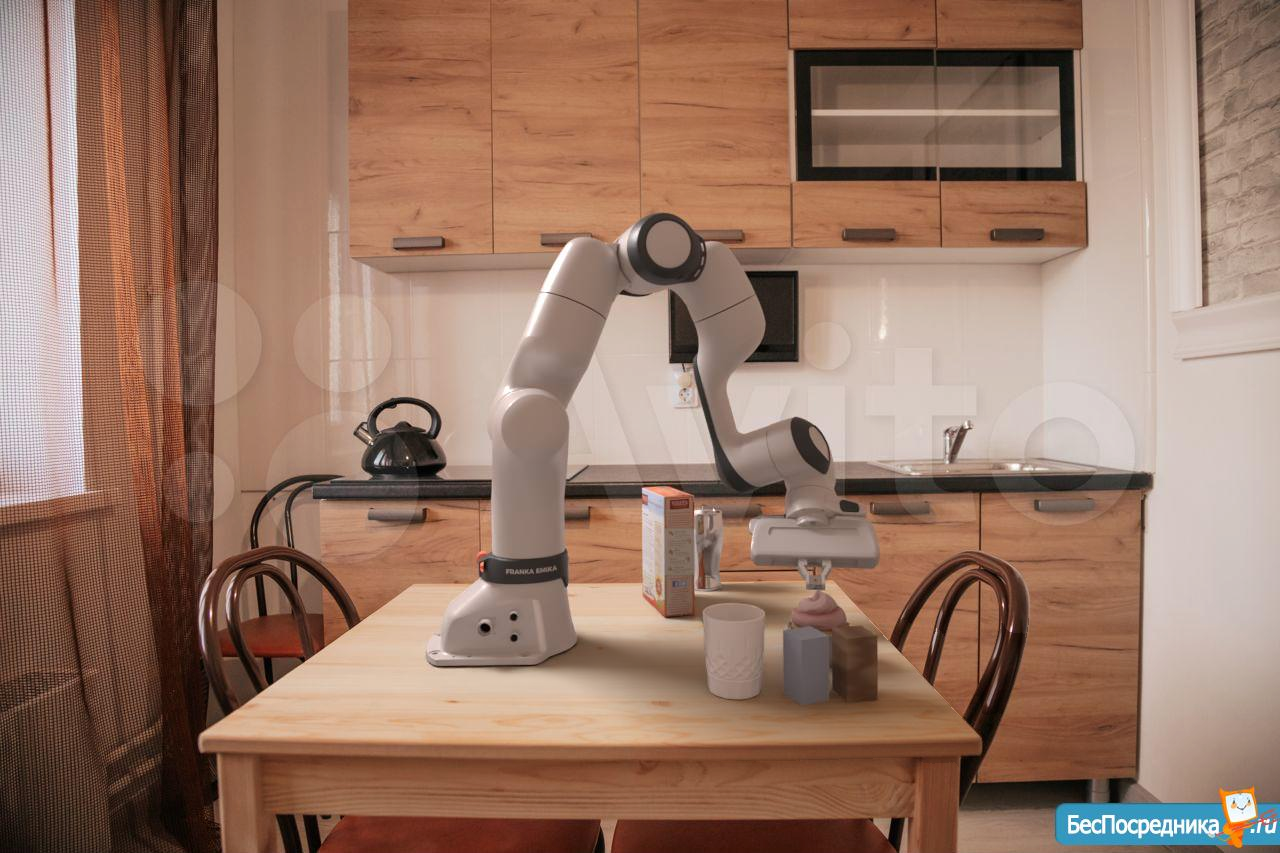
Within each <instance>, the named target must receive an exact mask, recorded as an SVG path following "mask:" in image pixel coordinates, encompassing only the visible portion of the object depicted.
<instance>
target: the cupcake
mask: <svg viewBox="0 0 1280 853" xmlns="http://www.w3.org/2000/svg"><path fill="white" fill-rule="evenodd" d="M846 615H847V614H846V612H845V610H843V608H842V607H841V606H839V605H838V604H837V601H836V600H835V599H834V598H833V597H832V596H831V595H829V594H828V593H825V592H823V590H814V593H813V595H812V596H811V597H806V598H804V599H801V601H800V602H798V605H797V606H796V608H795V609H793V610H792V611H791V614H790V621H788V622H786V623H785V625H786V627H787V629H793V628H800V627H807V626H811V627H813V628H815V629H817V630H819V631H821V632H823V633H825V634H827V635H829V667H832V628H837V627H849V626H850V622H847V616H846Z"/></svg>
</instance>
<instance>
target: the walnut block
mask: <svg viewBox="0 0 1280 853" xmlns="http://www.w3.org/2000/svg"><path fill="white" fill-rule="evenodd" d="M878 637H879V636H878V634H875V633H873V632H872V631H870V630H869V629H867V628H866V627H864V626H863V625H852V626H850V625H849V627H837V628H832V666H831V681H832V682H831V686H832V687H831V689H832V691H833V692H834V693H835V694H836V695H837V696H838V697H839V698H840V699H842V700H843V701H844V702H845V703H846V704H854V703H863V702H864V703H865V702H873V701H874V702H875V701H878V697H879V696H878V691H879V689H878V687H879V686H878V684H879V683H878V677H879V676H878V674H879V673H878V668H879V667H878V665H879V664H878V656H879V654H878V653H879V652H878V647H879V646H878V643H879V642H878V640H879V638H878Z"/></svg>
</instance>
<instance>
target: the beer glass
mask: <svg viewBox="0 0 1280 853" xmlns="http://www.w3.org/2000/svg"><path fill="white" fill-rule="evenodd" d="M723 522H724V521H723V511H722V510H720V509H714V508H713V509H712V508H697V509H694V567H695V568H694V583H695V589H694V590H695V591H699V592H714V591H718V590H720V589H722V581H721V577H720V564H721V558H722V557H721V556H722V550H723V543H724V523H723Z"/></svg>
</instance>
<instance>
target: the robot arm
mask: <svg viewBox="0 0 1280 853" xmlns="http://www.w3.org/2000/svg"><path fill="white" fill-rule="evenodd" d="M668 289H669V290H670V291H672V292H674V293H675V294H676V295H678V297H680V299H681V300H682V301H683V303H684V304H685V305H686V307H687V310H688V312H689V316H690V317H691V320H692V322H693V325H694V327H695V330H696V334H697V337H698V349H697V350H698V351H697V353H696V354H695V356H694V357H693V360H692V368H693V370H692V371H693V376H694V381H695V386H696V389H697V393H698V397H699V401H700V404H701V408H702V412H703V416H704V419H705V423H706V426H707V429H708V434H709V438H710V441H711V445H712V449H713V450H712V451H713V456H714V464H715V468H716V471H717V475H718V478H719V480H720V482H721V483H722V484H723V485H724V486H725V487H727V488H729V489H730V490H731V491H733V492H734V491H735V492H736V493H739V494H741V495H746V494H748V493H752V492H753V491H756V490H758V489H761V488H763V487H765V486H768V485H771V484H775V483H778V482H782V481H783V482H784V485H785V488H786V493H785V497H784V514H782V513H779V514H778V513H775V514H774V513H773V514H766V513H762V514H761V513H759V514H758V516H753V517H752V518H751V519H750V520H749V524H748V528H749V529H748V531H749V534H750V535H751V542H750V561H752V564H754V565H755V566H757V567H759V566H760V567H762V566H764V567H786V568H787V567H793V568H797V571H798V574H799V575H800V576H801V578H802V579H803V580H804V582H805V590H806V591H807V590H808V591H816V590H820V591H826V581H827V580H828V578H829V576H830V575H831V573H832V569H859V570H860V569H861V570H862V569H863V570H864V569H865V570H866V569H868V570H872V569H875V568H876V567H877V566H878V565H879V563H880V559H881V558H880V557H881V549H880V545H879V544H880V543H879V540H878V536H877V532H876V529H875V527H874V524H873V523H872V522H871V521H870V520H869V519H868V512H867V511H868V510H867V506H866V504H864V503H862V502H858V501H853V500H850V499H846V498H843V497H840V496H838V495H837V492H836V491H835V486H836V483H837V482H836V480H837V479H836V470H835V469H836V468H835V463H834V458H833V453H832V451H831V448H830V445H829V443H828V440H827V439H826V437H825V435H824V434H823V432H822V431H821V430H820V428H819V427H818V426H817V425H816V424H814V423H812V422H810V421H808V420H807V419H804V418H802V417H799V416H793V417H789V418H786V419H784V420H780V421H777V422H774V423H770V424H769V425H767V426H764V427H760V428H758V429H755V430H753V431H749V432H747V433H742V432H739V430H738V429H737V425H736V422H735V419H734V414H733V411H732V407H731V403H730V400H729V396H728V392H727V390H728V389H727V387H728V386H727V385H728V381H729V379H730V377H731V375H733V374H734V372H735V371H736V370H737V369H738V368H740V366H741V365H742V364H743V363H744V362H745V361H746V360H747V359H748V358H749V357H750V356H752V354H753V353H754V352H755V351H756V350H757V348H758V347H759V346H760V344H761V342H762V340H763V338H764V336H765V332H766V318H765V314H764V311H763V309H762V306H761V303H760V301H759V299H758V296H757V294H756V292H755V290H754V288H753V285H752V283H751V281H750V280H749V277H748V276H747V273H746V272H745V270H744V268H743V267H742V265H741V263H740V262H739V260H738V259H737V257H736V256H735V255H734V253H733V252H732V250H731V249H730V248H729V247H728V245H726V244H724V243H723V242H720V241H714V240H709V241H705V239H703V237H701V236H700V235H699V234H698V233H696V232H695V230H694V229H693V228H692V227H691V225H689V223H688V222H687V221H685V220H684V219H683V218H681V217H679V216H678V215H676V214H674V213H673V214H672V213H670V212H669V213H668V212H657V213H656V212H655V213H651V214H648V215H646V216H644V217H642V218H641V219H639V220H638V221H637V222H636V223H634V224H633V225H630V226H629V227H628V228H626V229H625V230H624V231H623V232H622V233H621V234H620V235H619V236H618V237H617V238H616V239H615V240H614V241H613V242H612V243H610V242H608V243H607V242H603V241H602V240H600V239H598V238H594V237H589V236H588V237H587V236H579V237H575V238H573V239H571V240H569V241H568V242H566V244H565V245H564V247H563V248H562V250H561V251H560V253H559V254H558V256H557V257H556V259H555V260H554V262H553V264H552V266H551V267H550V269H549V271H548V273H547V276H546V277H545V279H544V281H543V283H542V287H541V289H540V291H539V294H538V295H537V298H536V301H535V304H534V305H533V308H532V310H531V313H530V316H529V318H528V321H527V323H526V326H525V328H524V331H523V334H522V336H521V339H520V340H519V343H518V345H517V347H516V349H515V352H514V354H513V355H512V356H513V357H512V358H511V360H510V363H509V365H508V367H507V370H506V372H505V374H504V375H503V376H504V377H503V379H502V381H501V383H500V385H499V387H498V390H497V393H496V395H495V398H494V400H493V402H492V404H491V407H490V409H489V412H488V414H487V421H486V427H487V433H488V435H489V438H490V440H491V455H492V456H491V464H492V465H491V495H490V497H491V498H490V509H491V510H490V512H491V515H490V516H491V520H490V521H491V552H488V551H485V550H481V551H479V552H478V553H477V555H476V563H477V564H478V579H476V580H475V581H474V582H473V583H472V584H471V585H469V586H468V587H467V588H465V590H463V591H462V592H460V594H458V595H457V596H456V597H455V598H453V599H452V600H451V601H450V602H449V604H448V606H447V607H446V608H445V611H444V615H443V617H442V621H441V627H440V628H441V629H440V630H439V631H437V632H436V633H434V634H433V635H432V636H431V637H430V638H429V640H428V642H427V643H426V647H425V648H426V649H425V658H426V660H427V661H428V662H429V663H430V664H431V665H432V666H437V667H439V666H440V667H444V666H445V667H447V666H448V667H449V666H515V665H516V666H520V665H522V666H523V665H524V666H525V665H529V666H532V665H537V664H541V663H542V662H544V661H545V660H547V659H549V658H550V657H551V656H555V655H557V654H560V653H563V652H565V651H567V650H569V649H571V648H572V647H573V646H575V644H576V643H577V642H578V636H577V635H578V634H577V633H576V630H575V627H574V622H573V618H572V612H571V607H570V601H569V594H568V586H569V581H570V558H569V557H570V556H569V553H568V550H567V548H566V534H565V533H566V532H565V531H566V528H565V496H566V495H565V493H566V492H565V491H566V485H567V484H566V482H567V474H568V473H567V472H568V458H569V441H570V440H569V439H570V436H569V435H570V420H569V419H570V418H569V415H568V412H567V408H568V406H569V403H570V402H571V400H572V398H573V396H574V393H575V391H576V390H577V388H578V387H579V384H580V382H581V380H582V378H583V377H584V375H585V373H586V372H587V370H589V365H590V363H591V360H592V358H593V356H594V354H595V351H596V348H597V346H598V344H599V340H600V338H601V335H602V333H603V331H604V328H605V325H606V322H607V320H608V317H609V315H610V311H611V308H612V306H613V303H614V302H615V301H616V299H617V297H618V296H619V295H621V296H628V297H635V298H640V297H642V298H643V297H648V296H650V295H653V294H654V293H655V294H656V293H660V292H663V291H665V290H668ZM808 568H821V574H820V575H817V574H815V575H813V574H810V573H809V571H808Z"/></svg>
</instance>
